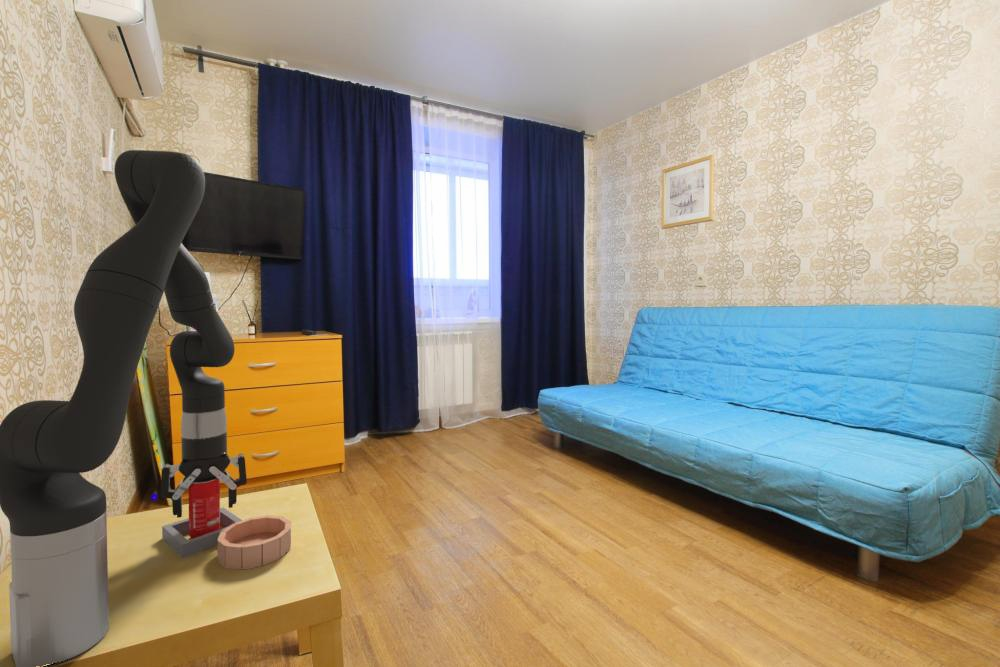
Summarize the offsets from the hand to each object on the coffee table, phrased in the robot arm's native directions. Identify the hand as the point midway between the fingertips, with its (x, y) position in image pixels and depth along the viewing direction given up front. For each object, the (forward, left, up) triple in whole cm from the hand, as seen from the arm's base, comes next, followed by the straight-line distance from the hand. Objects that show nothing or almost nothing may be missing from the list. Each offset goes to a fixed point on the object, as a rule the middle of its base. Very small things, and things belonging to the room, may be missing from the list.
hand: (205, 511), depth 89 cm
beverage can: (0, 0, -5) cm, 5 cm away
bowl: (+4, -13, -5) cm, 15 cm away
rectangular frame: (0, 0, -5) cm, 5 cm away
